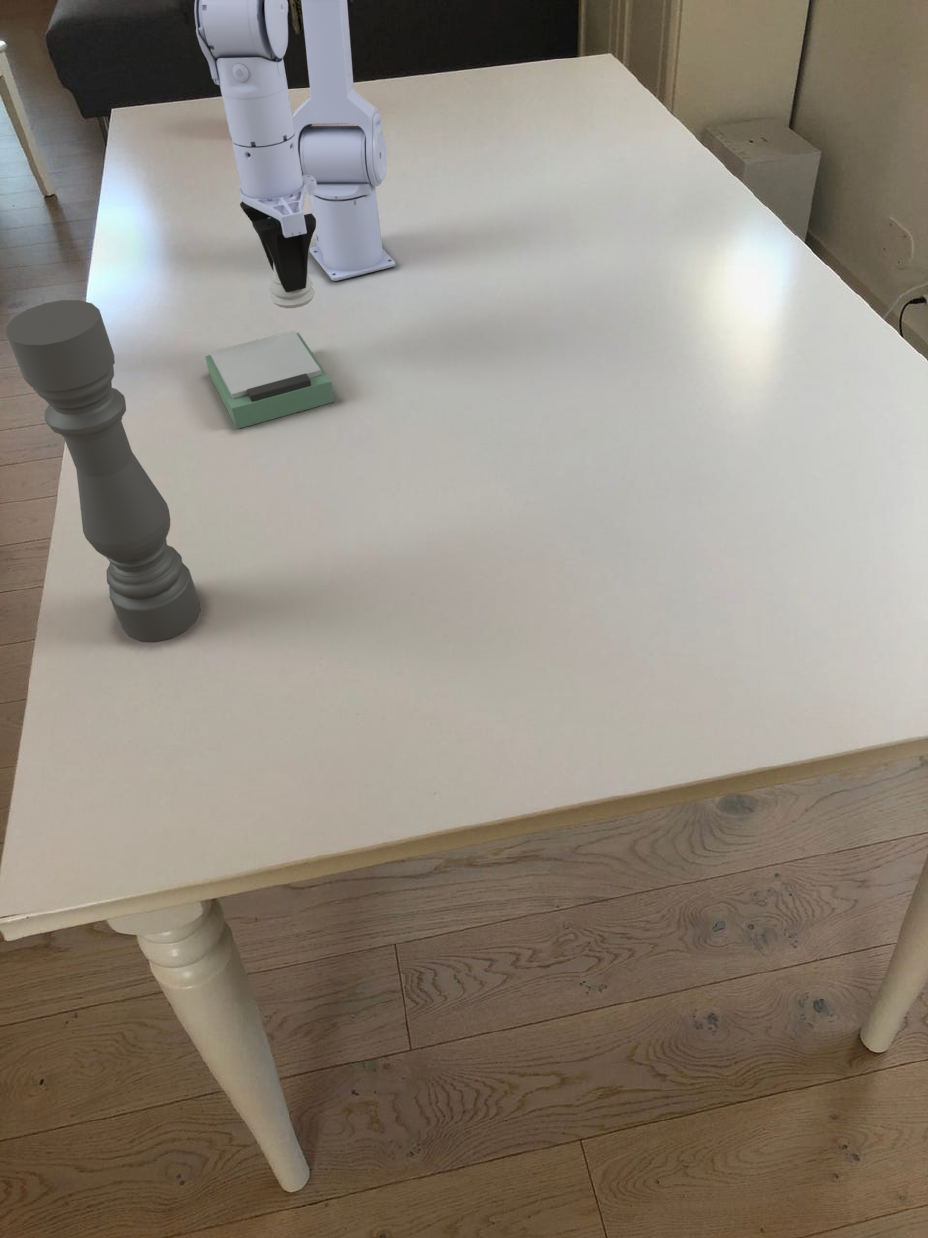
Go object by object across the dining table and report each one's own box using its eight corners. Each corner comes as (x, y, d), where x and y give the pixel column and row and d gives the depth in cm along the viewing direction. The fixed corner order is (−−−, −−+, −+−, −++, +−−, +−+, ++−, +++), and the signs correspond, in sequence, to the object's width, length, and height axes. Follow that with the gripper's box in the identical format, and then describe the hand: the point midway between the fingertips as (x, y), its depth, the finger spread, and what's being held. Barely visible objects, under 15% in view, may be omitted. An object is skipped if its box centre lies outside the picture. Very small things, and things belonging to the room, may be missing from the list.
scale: (210, 376, 105) (203, 349, 103) (302, 352, 107) (297, 325, 105) (237, 429, 98) (230, 401, 95) (335, 402, 100) (330, 374, 98)
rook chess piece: (317, 306, 99) (303, 226, 94) (271, 312, 99) (255, 232, 94) (314, 286, 103) (301, 207, 97) (270, 291, 102) (254, 213, 97)
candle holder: (127, 591, 82) (14, 302, 64) (204, 583, 82) (112, 293, 64) (115, 645, 77) (-11, 351, 60) (196, 637, 77) (94, 342, 60)
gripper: (329, 153, 86) (350, 302, 95) (286, 104, 96) (309, 243, 105) (248, 169, 84) (278, 319, 94) (213, 117, 94) (243, 258, 104)
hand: (290, 280), depth 99 cm, fingers closed on rook chess piece, 3 cm apart
